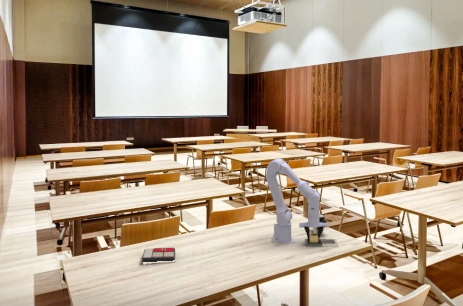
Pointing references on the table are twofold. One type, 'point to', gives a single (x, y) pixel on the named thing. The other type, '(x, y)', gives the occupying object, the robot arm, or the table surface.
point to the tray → (323, 243)
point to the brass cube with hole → (313, 238)
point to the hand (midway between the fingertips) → (313, 240)
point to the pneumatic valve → (321, 219)
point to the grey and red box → (158, 254)
